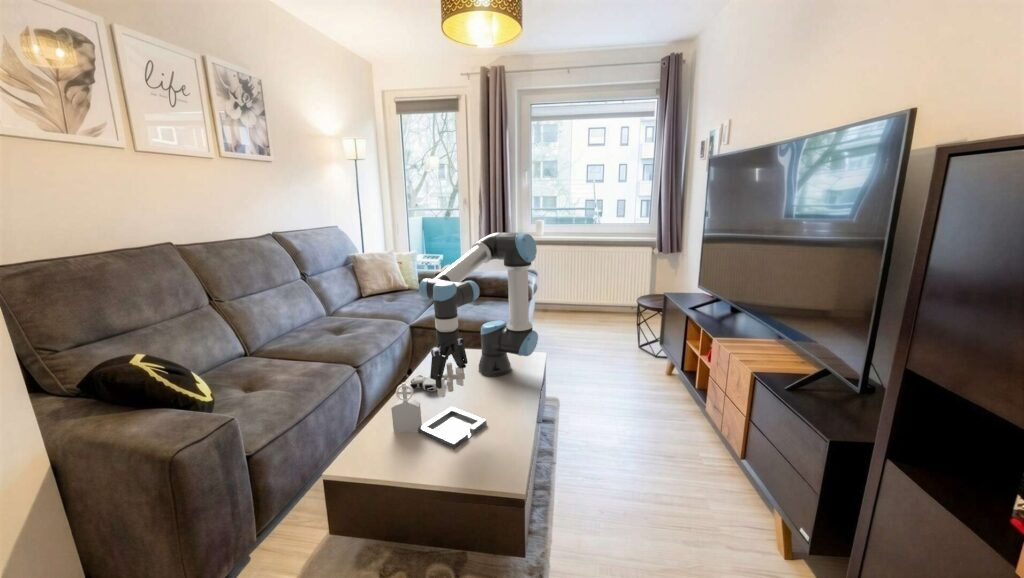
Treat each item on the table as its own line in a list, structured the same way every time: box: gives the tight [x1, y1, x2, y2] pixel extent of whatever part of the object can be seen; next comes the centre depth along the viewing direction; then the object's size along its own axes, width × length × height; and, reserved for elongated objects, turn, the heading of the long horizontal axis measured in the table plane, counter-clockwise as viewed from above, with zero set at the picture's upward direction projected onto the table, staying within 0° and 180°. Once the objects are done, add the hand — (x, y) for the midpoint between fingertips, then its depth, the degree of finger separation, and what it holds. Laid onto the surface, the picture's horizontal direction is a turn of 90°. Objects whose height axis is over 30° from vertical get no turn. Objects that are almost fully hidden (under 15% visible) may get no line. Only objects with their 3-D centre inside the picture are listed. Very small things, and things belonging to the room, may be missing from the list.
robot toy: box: [406, 373, 447, 392], centre depth 175 cm, size 12×4×15 cm
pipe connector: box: [435, 362, 466, 393], centre depth 140 cm, size 10×10×10 cm
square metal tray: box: [417, 406, 487, 450], centre depth 144 cm, size 17×17×2 cm
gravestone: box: [391, 382, 423, 433], centre depth 142 cm, size 3×9×18 cm, turn 92°
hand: (451, 390), depth 141 cm, fingers closed on pipe connector, 9 cm apart
